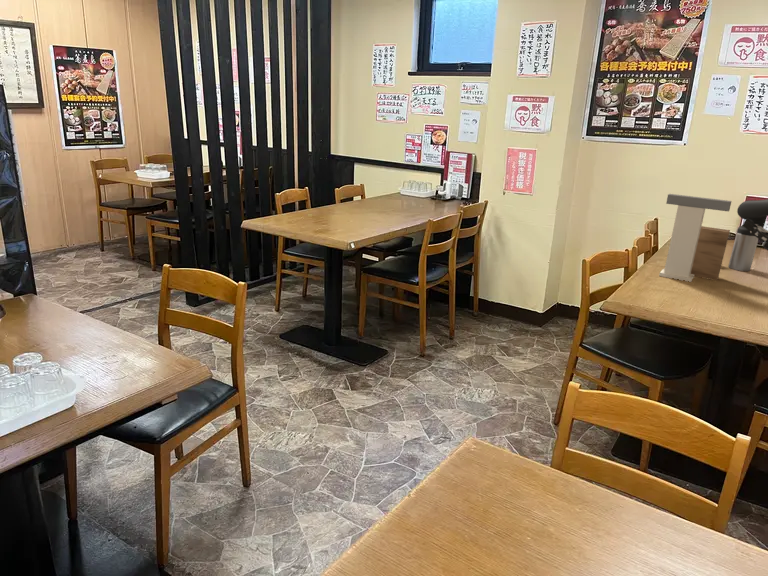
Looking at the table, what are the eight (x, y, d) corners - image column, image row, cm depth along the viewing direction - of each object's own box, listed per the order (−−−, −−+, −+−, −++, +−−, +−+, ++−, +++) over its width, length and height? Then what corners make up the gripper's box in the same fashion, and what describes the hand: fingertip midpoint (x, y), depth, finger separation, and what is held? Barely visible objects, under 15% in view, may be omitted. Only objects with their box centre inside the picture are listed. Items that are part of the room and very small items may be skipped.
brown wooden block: (674, 269, 266) (684, 223, 259) (718, 277, 256) (730, 230, 249) (671, 272, 261) (682, 225, 254) (717, 280, 252) (728, 232, 245)
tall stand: (662, 271, 261) (677, 203, 251) (693, 277, 254) (710, 207, 244) (659, 275, 254) (673, 205, 244) (690, 282, 247) (707, 209, 237)
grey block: (667, 202, 251) (669, 193, 249) (729, 210, 238) (731, 201, 237) (666, 203, 248) (668, 194, 246) (728, 211, 235) (730, 202, 234)
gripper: (787, 236, 233) (752, 212, 238) (787, 242, 222) (751, 216, 226) (772, 250, 237) (738, 226, 242) (771, 256, 226) (736, 231, 230)
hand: (744, 221), depth 234 cm, fingers open, 8 cm apart
